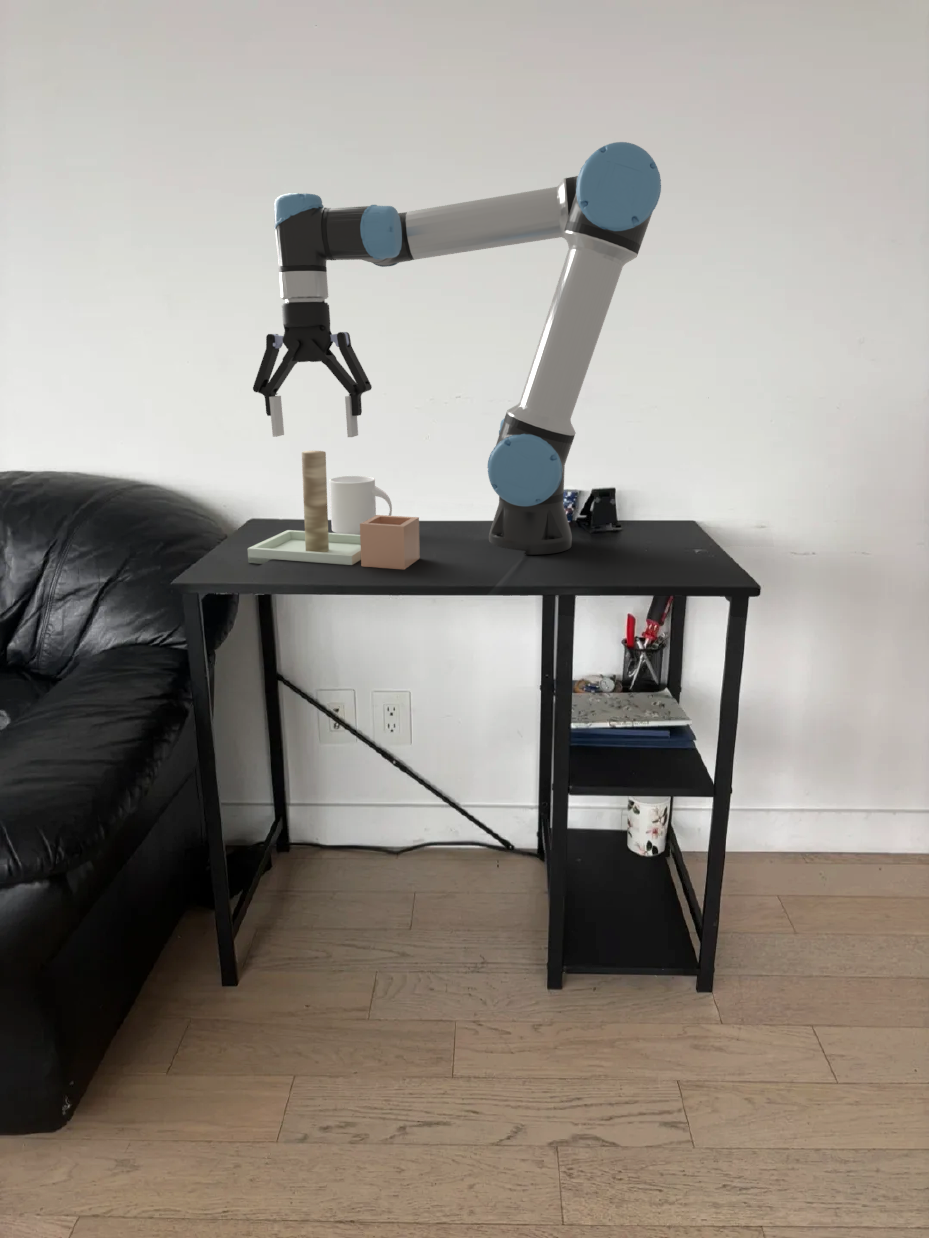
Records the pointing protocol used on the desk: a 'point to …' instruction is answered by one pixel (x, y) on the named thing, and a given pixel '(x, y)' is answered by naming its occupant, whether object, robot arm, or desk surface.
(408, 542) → the planter
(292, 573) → the desk surface
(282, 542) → the tray
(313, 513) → the dowel
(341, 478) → the mug
